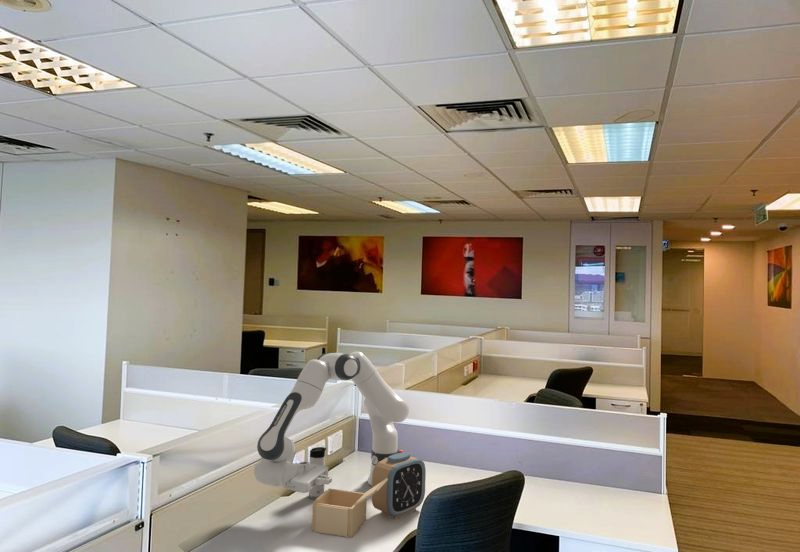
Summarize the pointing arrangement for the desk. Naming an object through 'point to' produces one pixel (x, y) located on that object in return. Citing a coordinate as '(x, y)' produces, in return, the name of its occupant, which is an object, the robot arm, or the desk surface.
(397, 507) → the alarm clock
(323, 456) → the travel mug
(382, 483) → the flap
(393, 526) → the desk surface
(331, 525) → the carton
